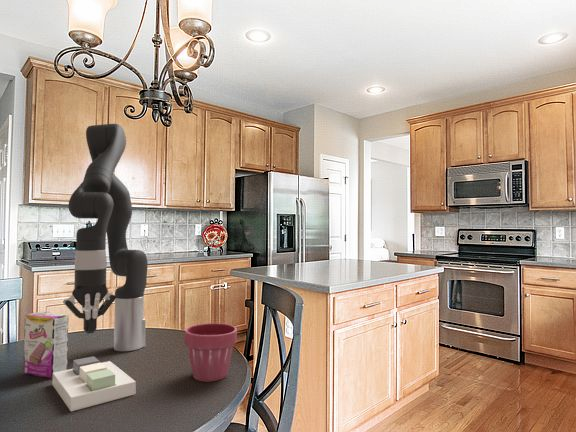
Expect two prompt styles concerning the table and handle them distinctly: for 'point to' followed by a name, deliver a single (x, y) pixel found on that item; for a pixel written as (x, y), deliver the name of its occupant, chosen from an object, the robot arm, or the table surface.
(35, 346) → the candy bar box
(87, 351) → the table surface
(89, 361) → the charcoal key
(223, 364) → the plant pot
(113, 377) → the sage key
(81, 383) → the white slotted tray
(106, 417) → the table surface
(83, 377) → the ivory key
